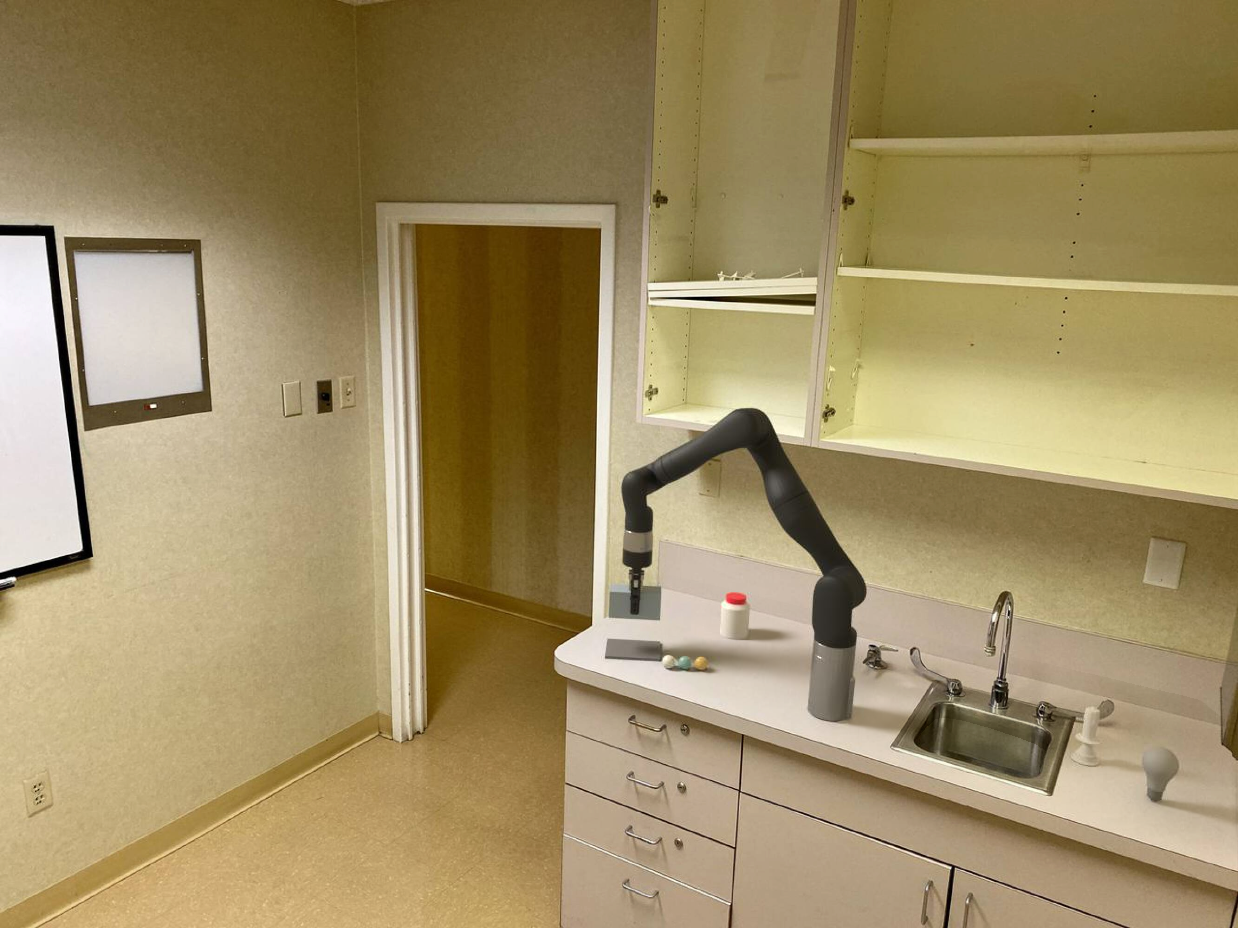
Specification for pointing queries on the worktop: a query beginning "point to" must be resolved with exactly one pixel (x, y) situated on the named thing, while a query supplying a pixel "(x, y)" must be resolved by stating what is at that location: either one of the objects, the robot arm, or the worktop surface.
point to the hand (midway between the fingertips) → (635, 609)
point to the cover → (622, 603)
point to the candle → (1088, 738)
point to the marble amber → (701, 663)
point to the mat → (633, 649)
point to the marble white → (668, 661)
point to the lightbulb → (1159, 770)
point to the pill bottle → (734, 616)
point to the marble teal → (684, 662)
